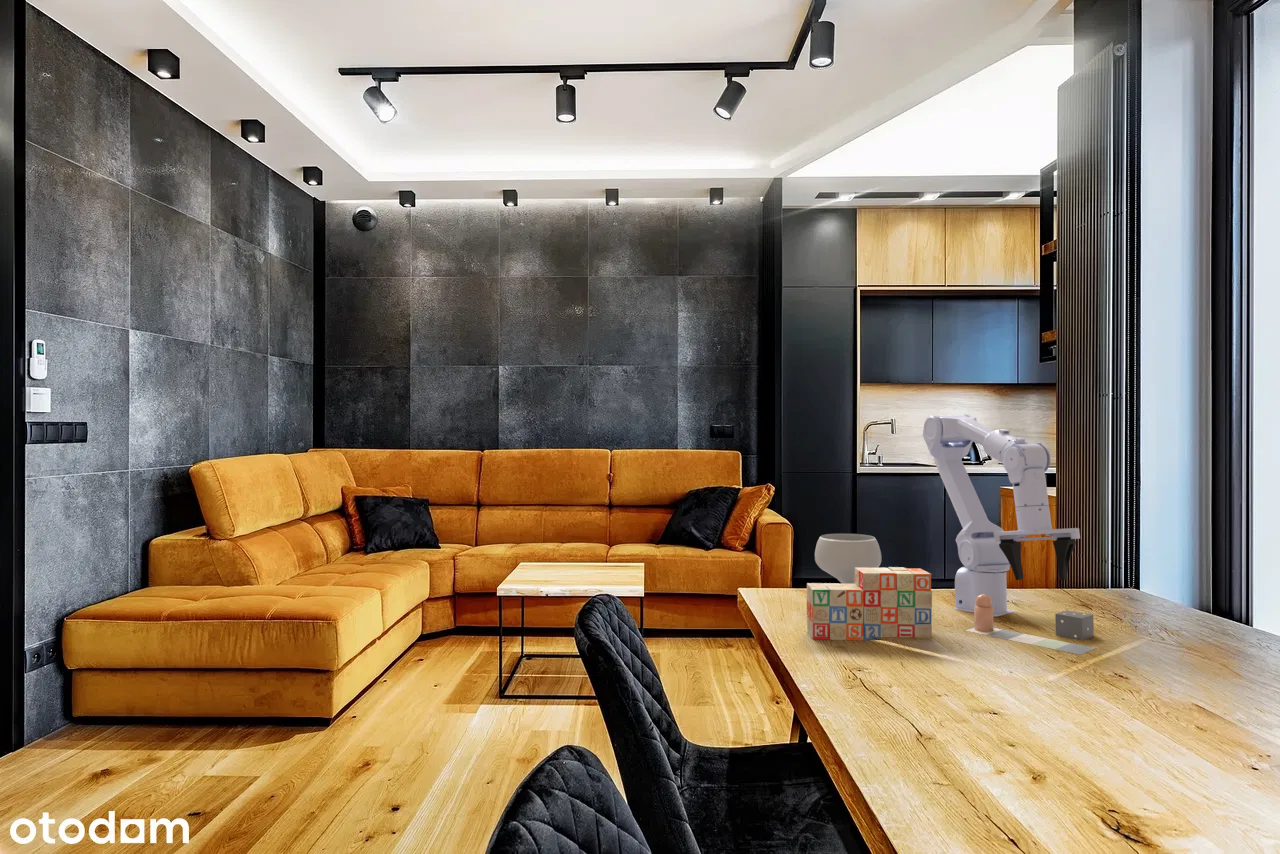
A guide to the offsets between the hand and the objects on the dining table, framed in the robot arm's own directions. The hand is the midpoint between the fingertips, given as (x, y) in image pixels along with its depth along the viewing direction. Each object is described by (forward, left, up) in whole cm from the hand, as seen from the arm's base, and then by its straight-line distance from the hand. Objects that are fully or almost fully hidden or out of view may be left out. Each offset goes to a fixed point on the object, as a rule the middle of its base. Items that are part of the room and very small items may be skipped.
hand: (1041, 579), depth 141 cm
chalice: (-36, -10, -10) cm, 39 cm away
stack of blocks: (-18, -27, -10) cm, 34 cm away
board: (+2, -9, -10) cm, 13 cm away
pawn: (-6, -9, -9) cm, 14 cm away
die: (+6, 0, -10) cm, 11 cm away
